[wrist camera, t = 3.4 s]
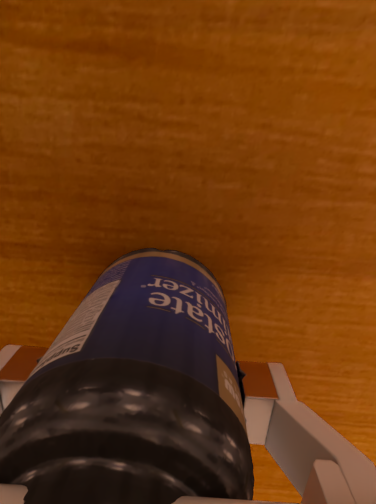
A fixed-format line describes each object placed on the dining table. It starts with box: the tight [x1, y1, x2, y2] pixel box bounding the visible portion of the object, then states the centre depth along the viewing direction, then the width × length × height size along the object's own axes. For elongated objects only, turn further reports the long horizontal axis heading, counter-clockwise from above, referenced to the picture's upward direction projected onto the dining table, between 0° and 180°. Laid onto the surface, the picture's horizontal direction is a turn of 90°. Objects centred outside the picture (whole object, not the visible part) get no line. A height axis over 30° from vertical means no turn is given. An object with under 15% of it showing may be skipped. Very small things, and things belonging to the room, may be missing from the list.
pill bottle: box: [0, 248, 254, 504], centre depth 9 cm, size 6×6×11 cm
